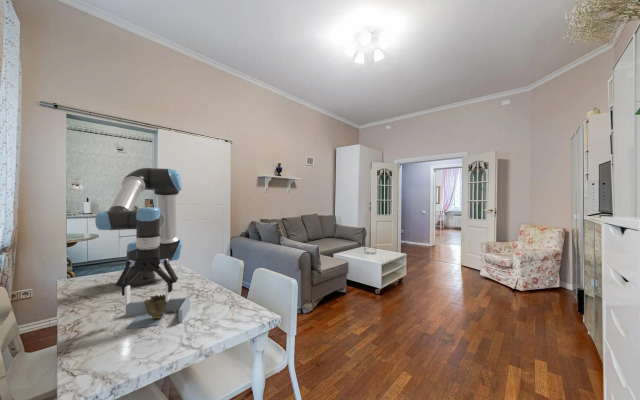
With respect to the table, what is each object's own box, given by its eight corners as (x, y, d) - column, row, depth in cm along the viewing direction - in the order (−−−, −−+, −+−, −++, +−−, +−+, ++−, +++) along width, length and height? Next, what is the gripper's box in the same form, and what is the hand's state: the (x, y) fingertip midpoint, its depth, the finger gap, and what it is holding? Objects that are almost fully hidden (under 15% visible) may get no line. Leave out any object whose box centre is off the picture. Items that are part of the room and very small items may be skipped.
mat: (138, 316, 100) (138, 315, 100) (166, 313, 103) (166, 312, 103) (126, 329, 91) (126, 327, 91) (157, 325, 93) (157, 324, 93)
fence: (127, 314, 102) (127, 302, 102) (189, 308, 108) (190, 296, 108) (110, 330, 90) (110, 316, 90) (182, 322, 96) (182, 309, 96)
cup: (155, 324, 93) (152, 302, 93) (141, 322, 96) (139, 301, 95) (173, 314, 100) (170, 294, 100) (160, 312, 103) (157, 293, 102)
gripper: (104, 250, 90) (104, 309, 90) (181, 248, 96) (180, 302, 97) (115, 246, 97) (114, 300, 97) (186, 244, 104) (185, 295, 104)
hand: (147, 301), depth 97 cm, fingers open, 13 cm apart
